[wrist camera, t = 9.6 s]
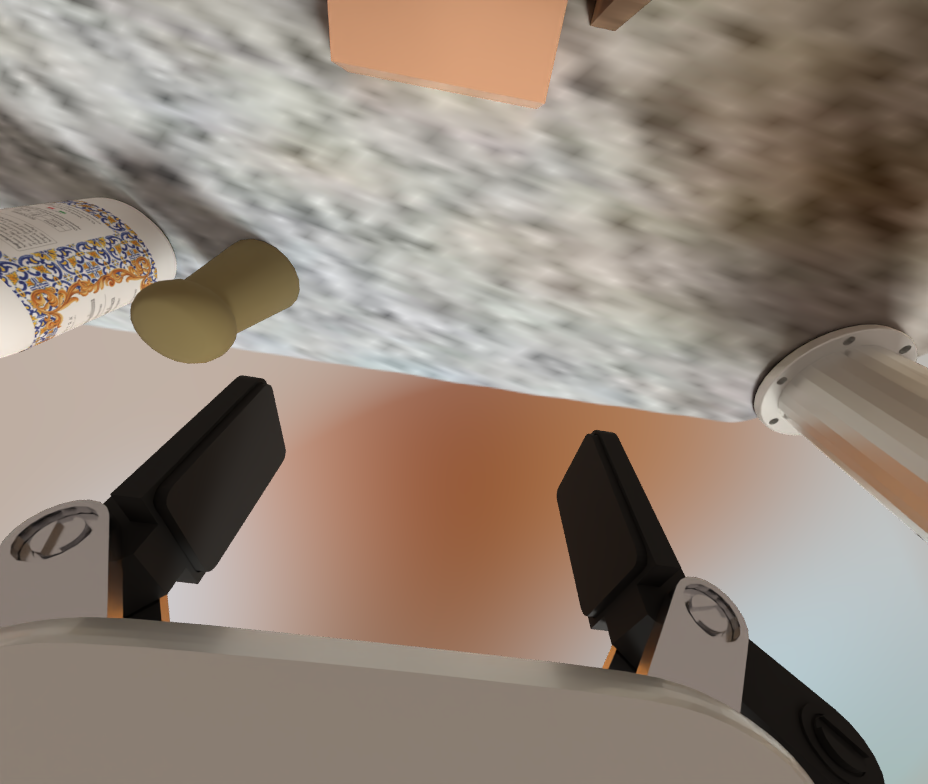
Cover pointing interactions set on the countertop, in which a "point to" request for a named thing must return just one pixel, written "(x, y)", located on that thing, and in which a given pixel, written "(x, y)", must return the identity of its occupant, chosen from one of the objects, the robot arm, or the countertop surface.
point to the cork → (215, 302)
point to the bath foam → (73, 266)
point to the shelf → (615, 12)
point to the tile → (452, 44)
